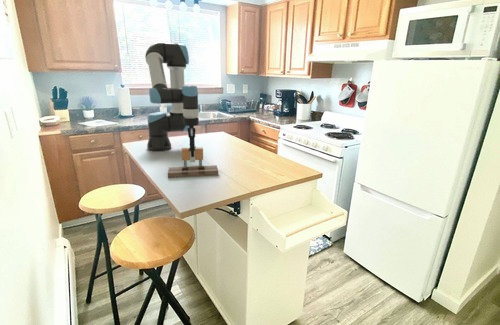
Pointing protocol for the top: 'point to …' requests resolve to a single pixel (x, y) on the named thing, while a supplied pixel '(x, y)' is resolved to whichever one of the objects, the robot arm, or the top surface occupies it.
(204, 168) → the rail
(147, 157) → the top surface
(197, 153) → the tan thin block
